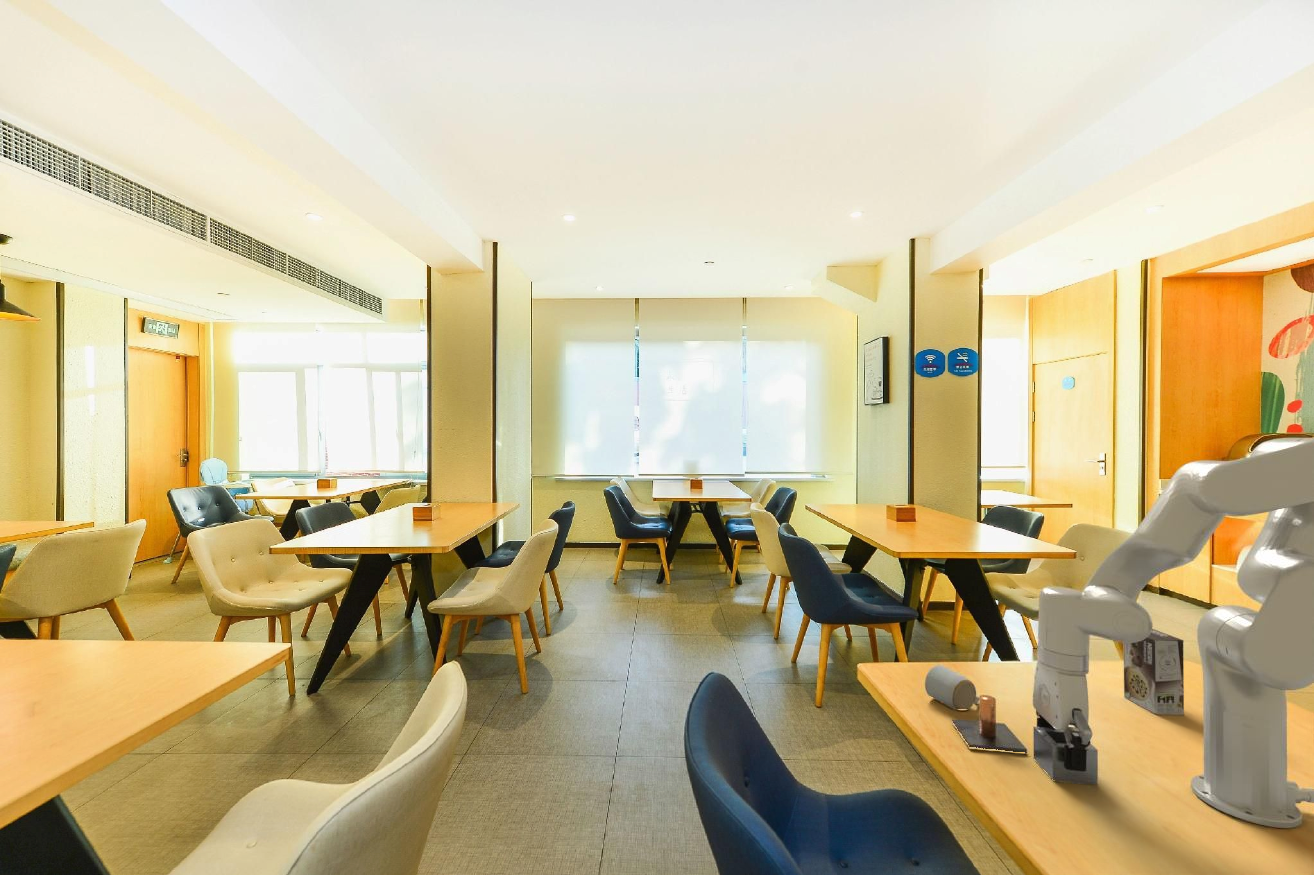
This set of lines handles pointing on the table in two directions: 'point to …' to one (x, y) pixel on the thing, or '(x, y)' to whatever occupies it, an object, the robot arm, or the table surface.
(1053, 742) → the grey square open box
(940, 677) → the ceramic mug
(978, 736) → the post
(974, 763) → the table surface
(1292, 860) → the table surface
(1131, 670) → the coffee box
